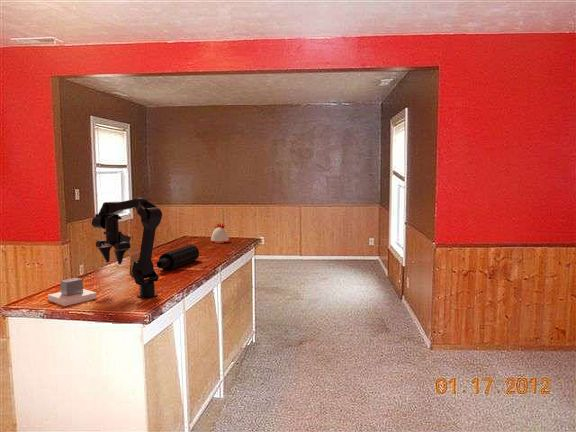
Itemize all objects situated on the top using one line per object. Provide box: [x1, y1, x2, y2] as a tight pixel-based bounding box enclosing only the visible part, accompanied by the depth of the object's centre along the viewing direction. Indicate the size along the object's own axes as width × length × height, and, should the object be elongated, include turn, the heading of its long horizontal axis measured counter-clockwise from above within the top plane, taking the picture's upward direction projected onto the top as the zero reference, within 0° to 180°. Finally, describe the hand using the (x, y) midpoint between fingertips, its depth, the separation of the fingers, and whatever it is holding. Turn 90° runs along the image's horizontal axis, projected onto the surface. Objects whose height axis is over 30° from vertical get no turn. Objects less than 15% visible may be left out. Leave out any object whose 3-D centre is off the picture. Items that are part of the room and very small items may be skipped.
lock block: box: [60, 277, 84, 296], centre depth 192 cm, size 5×7×6 cm
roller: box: [156, 244, 200, 272], centre depth 260 cm, size 38×10×10 cm, turn 165°
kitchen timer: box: [210, 222, 230, 242], centre depth 350 cm, size 14×14×15 cm
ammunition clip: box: [129, 249, 141, 276], centre depth 243 cm, size 11×2×12 cm, turn 169°
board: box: [47, 288, 98, 307], centre depth 192 cm, size 14×14×2 cm
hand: (113, 263), depth 205 cm, fingers open, 9 cm apart
